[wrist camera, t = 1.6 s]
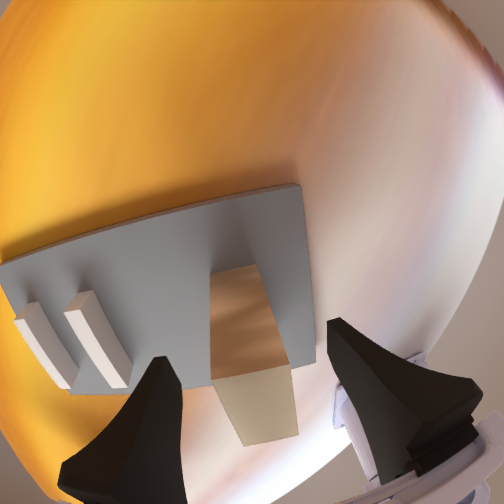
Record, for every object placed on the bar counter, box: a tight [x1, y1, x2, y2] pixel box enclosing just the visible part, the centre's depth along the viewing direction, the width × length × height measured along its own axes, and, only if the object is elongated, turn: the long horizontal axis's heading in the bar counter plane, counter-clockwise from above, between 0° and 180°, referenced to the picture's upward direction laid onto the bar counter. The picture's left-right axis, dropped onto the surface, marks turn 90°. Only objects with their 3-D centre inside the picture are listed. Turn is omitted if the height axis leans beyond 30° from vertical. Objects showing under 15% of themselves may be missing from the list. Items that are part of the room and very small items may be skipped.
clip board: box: [0, 183, 316, 395], centre depth 14 cm, size 20×12×3 cm, turn 100°
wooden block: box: [210, 264, 299, 446], centre depth 12 cm, size 2×5×7 cm, turn 10°
